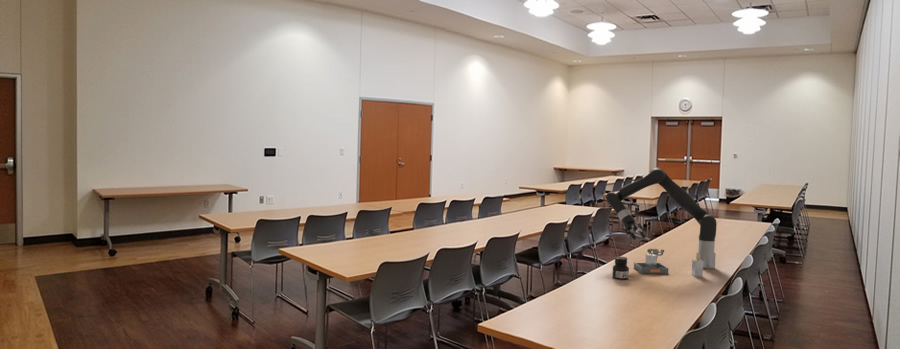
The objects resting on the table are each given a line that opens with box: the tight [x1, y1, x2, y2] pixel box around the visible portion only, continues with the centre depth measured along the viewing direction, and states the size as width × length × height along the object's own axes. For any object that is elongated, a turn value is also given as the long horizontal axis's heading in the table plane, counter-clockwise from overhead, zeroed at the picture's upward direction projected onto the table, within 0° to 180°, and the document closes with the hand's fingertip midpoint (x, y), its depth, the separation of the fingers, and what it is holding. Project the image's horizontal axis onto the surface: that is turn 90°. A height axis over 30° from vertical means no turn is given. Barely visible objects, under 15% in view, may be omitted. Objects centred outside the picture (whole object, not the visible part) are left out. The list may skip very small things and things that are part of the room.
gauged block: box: [691, 252, 704, 278], centre depth 336 cm, size 4×4×14 cm
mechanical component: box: [646, 248, 665, 263], centre depth 363 cm, size 3×10×10 cm, turn 89°
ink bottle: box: [611, 256, 630, 281], centre depth 327 cm, size 10×9×12 cm
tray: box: [633, 262, 669, 275], centre depth 346 cm, size 16×14×4 cm
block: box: [644, 253, 658, 268], centre depth 346 cm, size 4×4×10 cm
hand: (640, 238), depth 356 cm, fingers open, 8 cm apart
